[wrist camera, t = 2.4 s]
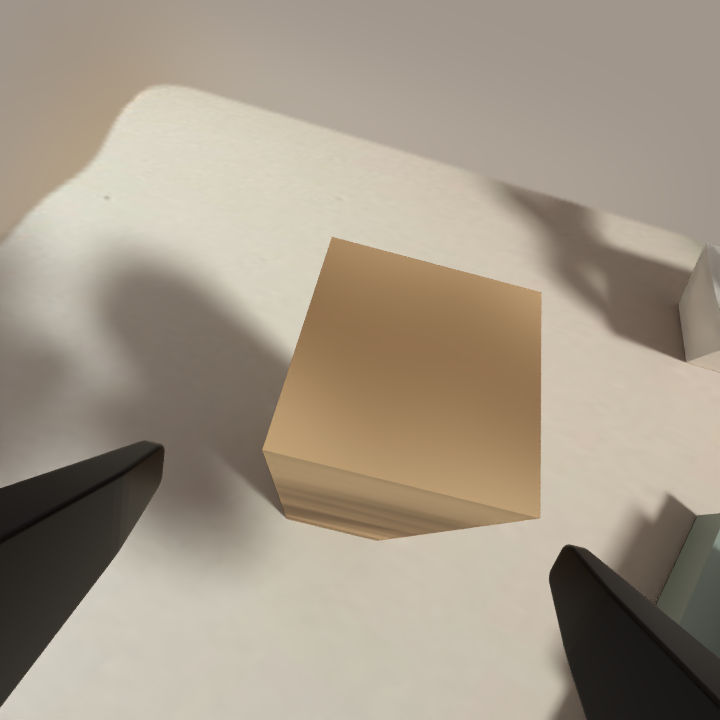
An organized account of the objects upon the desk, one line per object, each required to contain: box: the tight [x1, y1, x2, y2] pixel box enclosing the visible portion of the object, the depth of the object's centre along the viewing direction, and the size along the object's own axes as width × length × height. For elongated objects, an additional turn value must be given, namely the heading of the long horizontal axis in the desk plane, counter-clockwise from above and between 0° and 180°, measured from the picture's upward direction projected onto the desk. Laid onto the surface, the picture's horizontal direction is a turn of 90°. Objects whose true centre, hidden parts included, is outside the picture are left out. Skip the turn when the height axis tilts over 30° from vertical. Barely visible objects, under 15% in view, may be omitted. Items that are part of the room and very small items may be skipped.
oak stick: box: [262, 237, 541, 541], centre depth 12 cm, size 4×4×13 cm
